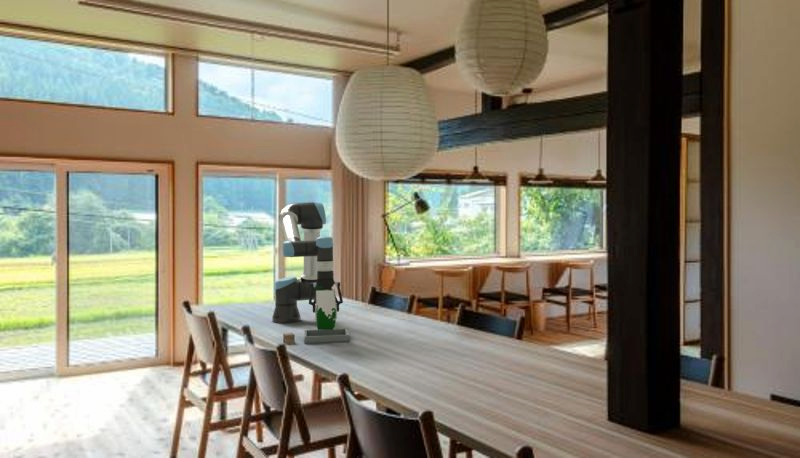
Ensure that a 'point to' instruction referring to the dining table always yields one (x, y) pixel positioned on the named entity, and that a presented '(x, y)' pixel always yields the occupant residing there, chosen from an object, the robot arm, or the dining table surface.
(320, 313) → the soya milk
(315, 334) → the tray
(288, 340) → the walnut block
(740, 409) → the dining table surface
